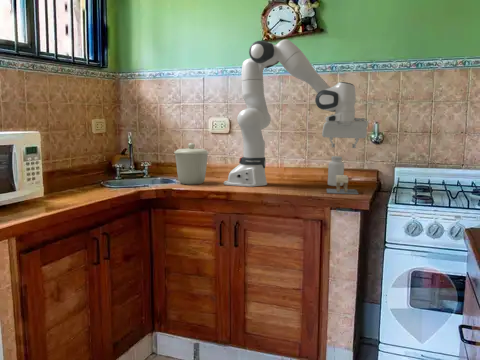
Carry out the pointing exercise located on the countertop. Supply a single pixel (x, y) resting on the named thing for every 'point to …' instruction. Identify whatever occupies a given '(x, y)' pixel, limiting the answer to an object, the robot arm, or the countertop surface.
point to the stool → (341, 180)
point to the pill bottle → (335, 170)
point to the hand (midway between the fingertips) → (343, 147)
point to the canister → (191, 164)
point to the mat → (342, 191)
